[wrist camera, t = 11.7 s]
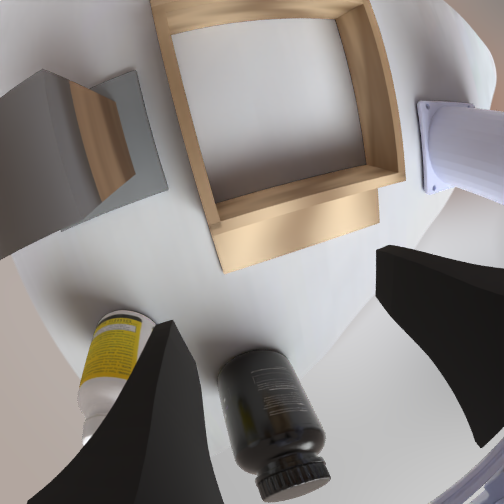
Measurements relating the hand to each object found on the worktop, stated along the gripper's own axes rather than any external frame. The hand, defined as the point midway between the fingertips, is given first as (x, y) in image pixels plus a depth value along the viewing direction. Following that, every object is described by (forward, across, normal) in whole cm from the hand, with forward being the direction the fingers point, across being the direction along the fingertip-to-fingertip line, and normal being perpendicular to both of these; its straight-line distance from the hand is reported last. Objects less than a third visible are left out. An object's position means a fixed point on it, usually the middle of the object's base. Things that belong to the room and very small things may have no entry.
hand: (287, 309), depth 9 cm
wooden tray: (+9, -4, -7) cm, 13 cm away
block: (+9, +7, -7) cm, 13 cm away
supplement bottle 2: (+10, +2, +14) cm, 17 cm away
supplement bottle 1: (+10, +10, +6) cm, 15 cm away
